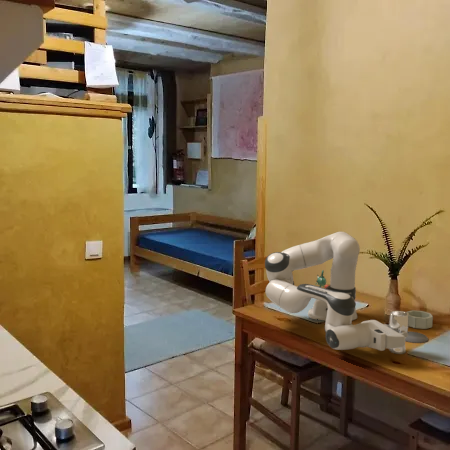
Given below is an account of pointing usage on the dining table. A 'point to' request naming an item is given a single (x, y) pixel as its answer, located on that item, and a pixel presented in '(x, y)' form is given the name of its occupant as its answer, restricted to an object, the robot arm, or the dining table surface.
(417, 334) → the coaster
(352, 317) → the robot arm
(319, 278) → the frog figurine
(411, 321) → the bowl
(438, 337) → the dining table surface
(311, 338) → the dining table surface
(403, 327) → the beer glass
